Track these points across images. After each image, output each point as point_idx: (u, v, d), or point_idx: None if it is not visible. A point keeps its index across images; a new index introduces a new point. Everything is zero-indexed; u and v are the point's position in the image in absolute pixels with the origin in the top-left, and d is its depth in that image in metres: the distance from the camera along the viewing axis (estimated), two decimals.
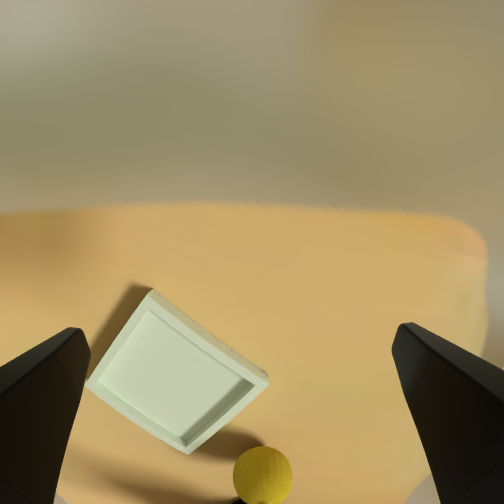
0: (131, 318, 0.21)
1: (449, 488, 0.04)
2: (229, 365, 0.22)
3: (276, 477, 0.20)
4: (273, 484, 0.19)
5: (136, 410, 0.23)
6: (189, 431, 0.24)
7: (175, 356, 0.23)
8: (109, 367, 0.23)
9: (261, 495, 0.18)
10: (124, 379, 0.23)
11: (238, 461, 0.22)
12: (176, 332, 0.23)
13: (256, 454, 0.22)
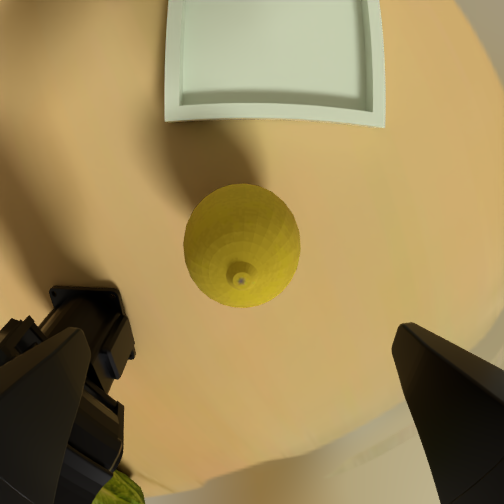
0: None
1: (449, 488, 0.04)
2: (375, 65, 0.13)
3: (296, 244, 0.12)
4: (289, 248, 0.12)
5: (185, 15, 0.12)
6: (208, 94, 0.14)
7: (322, 11, 0.12)
8: None
9: (261, 248, 0.11)
10: None
11: (236, 184, 0.14)
12: (351, 1, 0.12)
13: None
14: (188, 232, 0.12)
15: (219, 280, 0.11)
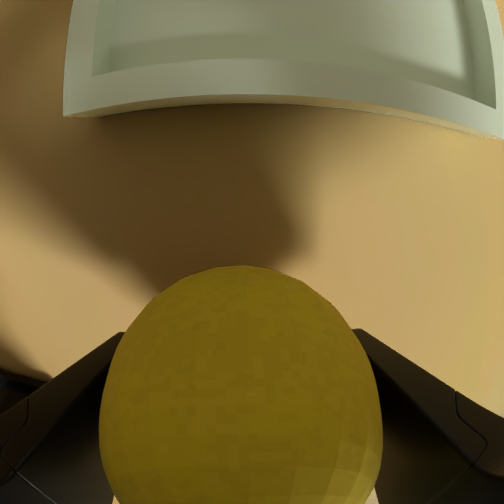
0: None
1: None
2: (491, 26, 0.04)
3: (380, 455, 0.04)
4: (369, 489, 0.03)
5: None
6: (163, 50, 0.06)
7: None
8: None
9: None
10: None
11: (224, 275, 0.05)
12: None
13: (324, 300, 0.06)
14: (100, 430, 0.04)
15: None
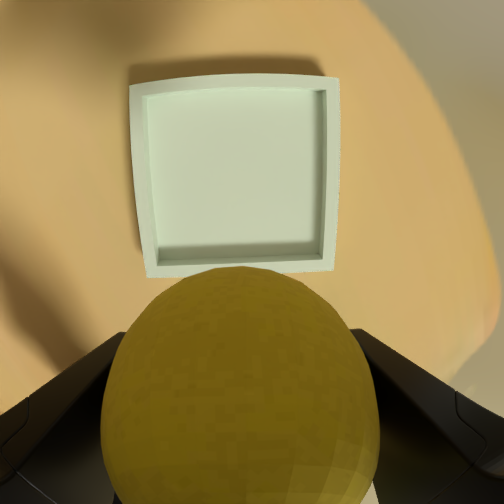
0: (296, 76, 0.14)
1: None
2: (328, 215, 0.17)
3: (377, 454, 0.04)
4: (366, 488, 0.03)
5: (150, 170, 0.17)
6: (180, 250, 0.19)
7: (281, 154, 0.17)
8: (186, 95, 0.15)
9: None
10: (186, 122, 0.16)
11: (224, 276, 0.05)
12: (311, 135, 0.17)
13: (323, 301, 0.06)
14: (101, 428, 0.04)
15: None
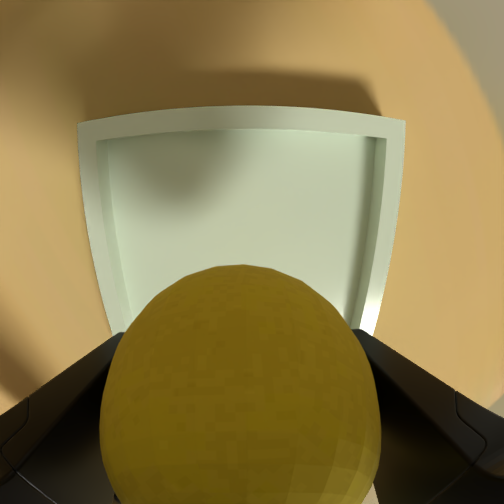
0: (344, 114, 0.09)
1: None
2: (366, 317, 0.12)
3: (378, 454, 0.04)
4: (367, 488, 0.03)
5: (118, 249, 0.12)
6: None
7: (309, 233, 0.12)
8: (165, 136, 0.10)
9: None
10: (166, 181, 0.11)
11: (224, 274, 0.05)
12: (355, 205, 0.11)
13: (324, 300, 0.06)
14: (100, 428, 0.04)
15: None
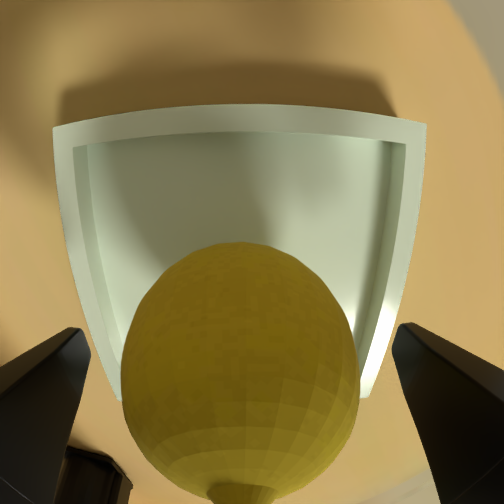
0: (358, 115, 0.08)
1: (449, 488, 0.04)
2: (377, 341, 0.11)
3: (358, 396, 0.05)
4: (349, 422, 0.04)
5: (102, 267, 0.10)
6: None
7: (316, 251, 0.10)
8: (151, 140, 0.09)
9: (288, 456, 0.04)
10: (153, 192, 0.09)
11: (227, 246, 0.07)
12: (368, 219, 0.10)
13: (309, 269, 0.07)
14: (122, 372, 0.05)
15: (193, 492, 0.04)
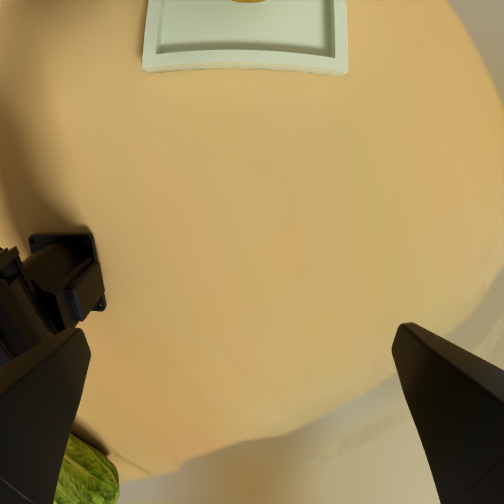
0: None
1: (449, 488, 0.04)
2: (338, 19, 0.13)
3: None
4: None
5: None
6: (183, 46, 0.14)
7: None
8: None
9: None
10: None
11: None
12: None
13: None
14: None
15: None
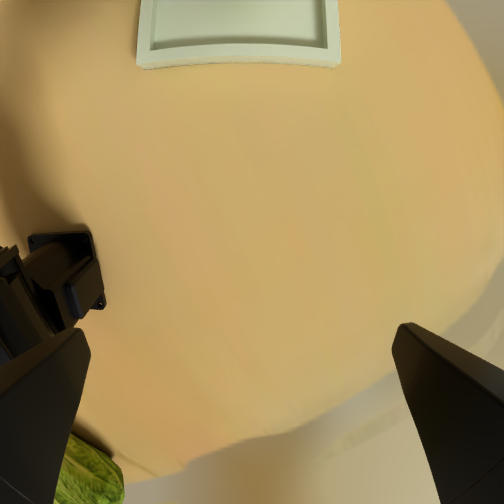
0: None
1: (449, 488, 0.04)
2: (329, 10, 0.13)
3: None
4: None
5: None
6: (176, 43, 0.14)
7: None
8: None
9: None
10: None
11: None
12: None
13: None
14: None
15: None
